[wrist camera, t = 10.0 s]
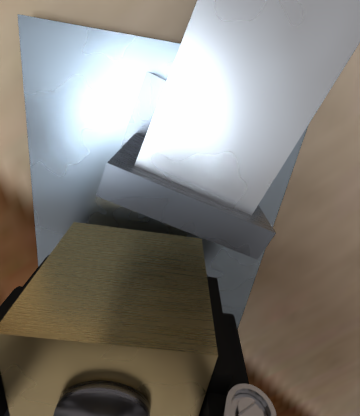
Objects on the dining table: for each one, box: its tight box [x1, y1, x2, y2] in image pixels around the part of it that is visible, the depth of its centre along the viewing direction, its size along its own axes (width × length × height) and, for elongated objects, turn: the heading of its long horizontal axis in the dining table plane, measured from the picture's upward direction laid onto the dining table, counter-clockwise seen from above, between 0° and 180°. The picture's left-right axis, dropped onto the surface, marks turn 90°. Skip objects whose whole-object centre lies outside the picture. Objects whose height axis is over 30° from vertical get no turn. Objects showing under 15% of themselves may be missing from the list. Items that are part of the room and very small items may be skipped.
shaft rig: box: [18, 0, 360, 329], centre depth 11 cm, size 10×28×6 cm, turn 171°
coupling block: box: [0, 222, 218, 416], centre depth 9 cm, size 5×5×5 cm
